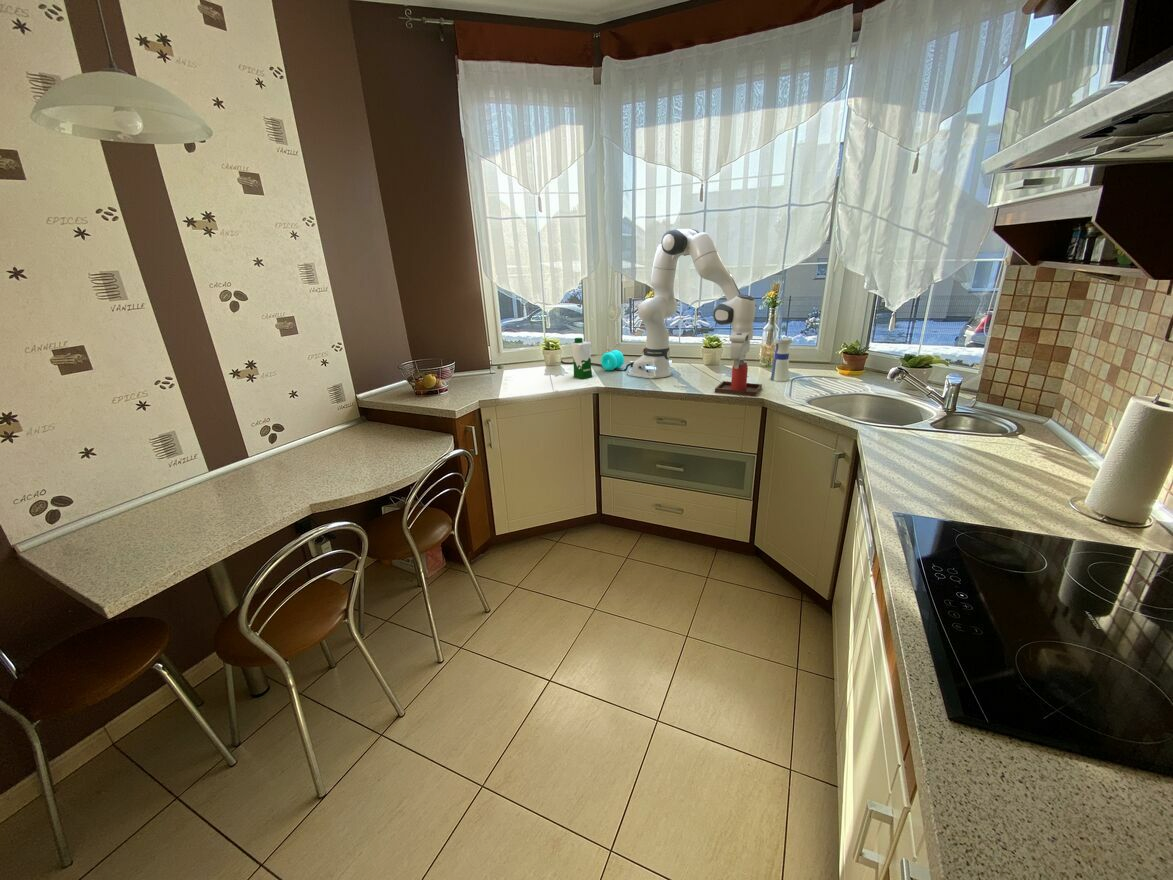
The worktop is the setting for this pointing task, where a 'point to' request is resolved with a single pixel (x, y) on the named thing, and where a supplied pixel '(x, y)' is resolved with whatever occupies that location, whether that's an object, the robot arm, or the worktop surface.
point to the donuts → (612, 360)
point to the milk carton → (581, 358)
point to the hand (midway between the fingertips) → (739, 366)
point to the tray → (750, 390)
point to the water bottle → (781, 359)
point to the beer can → (739, 377)
